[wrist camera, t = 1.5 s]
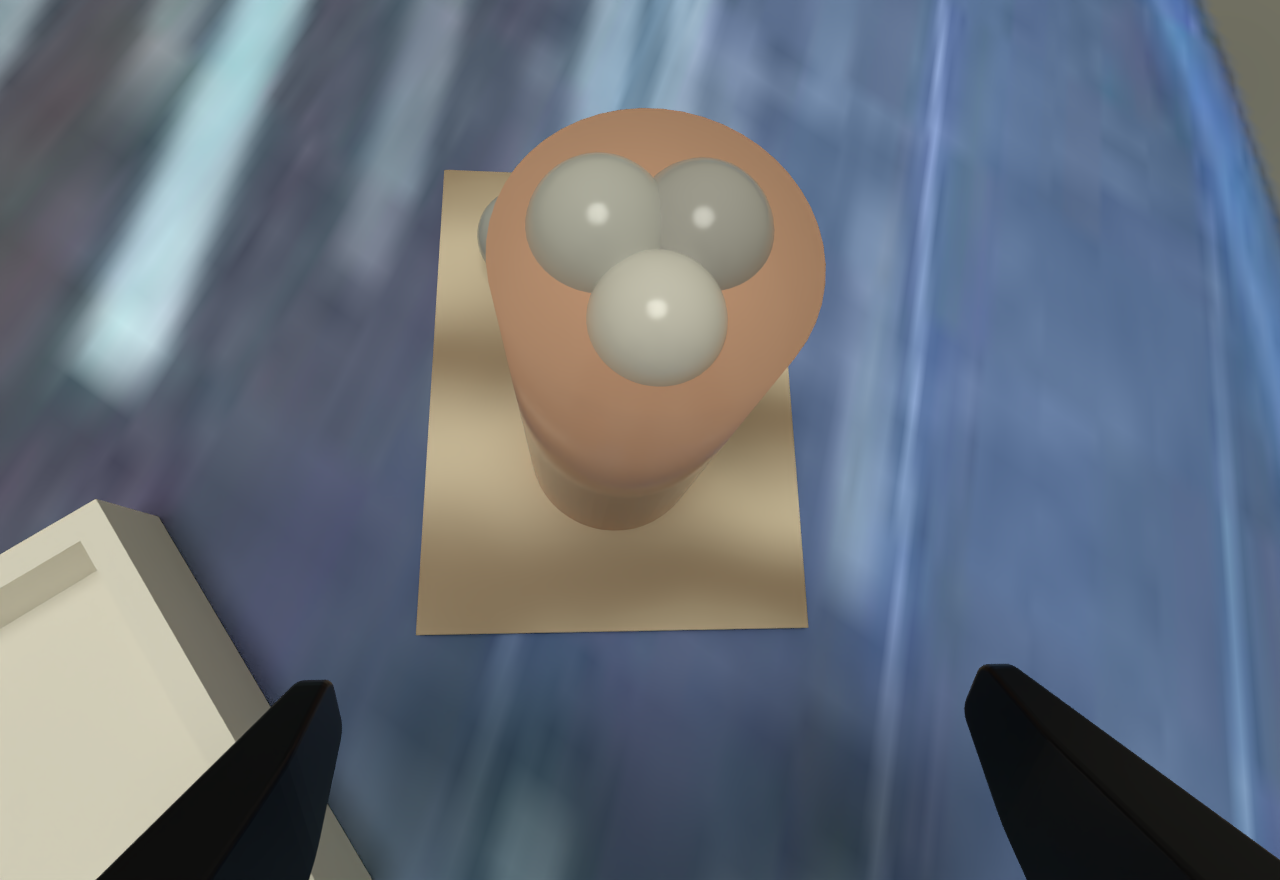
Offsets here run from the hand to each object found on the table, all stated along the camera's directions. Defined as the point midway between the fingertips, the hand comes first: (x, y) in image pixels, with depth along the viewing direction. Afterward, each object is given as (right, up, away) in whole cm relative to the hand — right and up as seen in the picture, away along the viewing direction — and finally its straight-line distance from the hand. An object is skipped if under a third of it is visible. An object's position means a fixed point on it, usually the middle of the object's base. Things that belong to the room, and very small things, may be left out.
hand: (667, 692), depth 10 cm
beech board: (-1, +5, +14) cm, 15 cm away
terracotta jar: (-1, +3, +13) cm, 14 cm away
